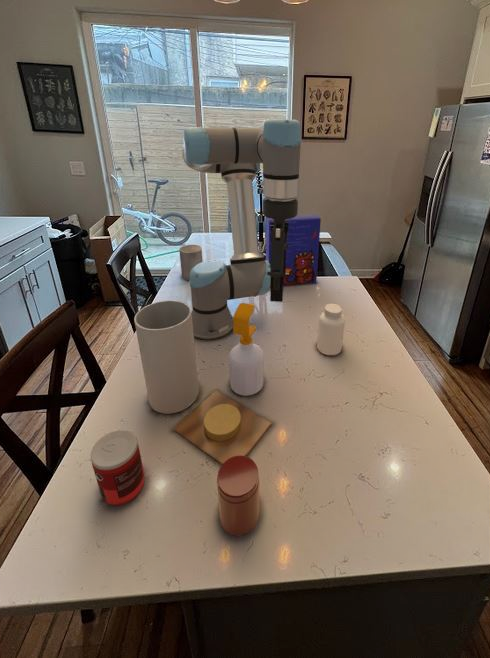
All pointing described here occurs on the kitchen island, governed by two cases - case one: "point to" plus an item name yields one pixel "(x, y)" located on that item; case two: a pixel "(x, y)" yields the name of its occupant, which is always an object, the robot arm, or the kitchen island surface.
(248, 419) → the wooden board
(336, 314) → the pill bottle
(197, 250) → the pillar candle
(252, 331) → the spray bottle
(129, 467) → the canned food
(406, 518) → the kitchen island surface
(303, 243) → the cereal box
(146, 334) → the cylinder vase
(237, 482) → the jam jar
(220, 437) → the jar lid
